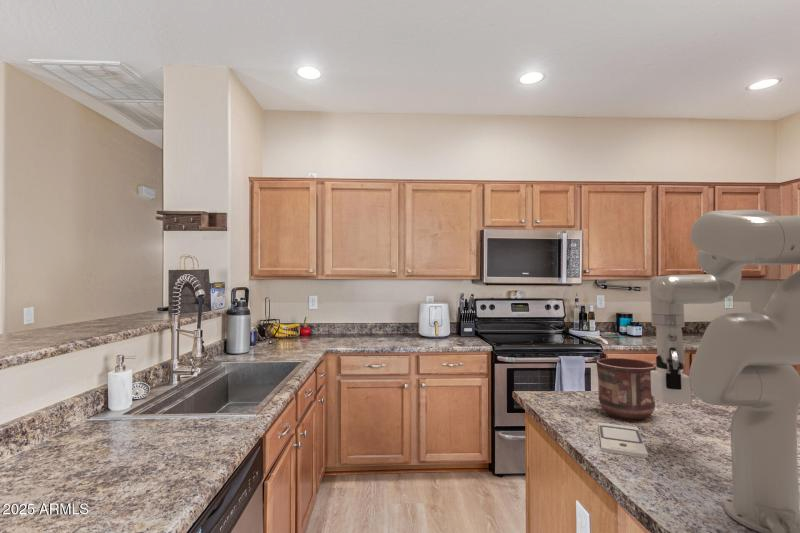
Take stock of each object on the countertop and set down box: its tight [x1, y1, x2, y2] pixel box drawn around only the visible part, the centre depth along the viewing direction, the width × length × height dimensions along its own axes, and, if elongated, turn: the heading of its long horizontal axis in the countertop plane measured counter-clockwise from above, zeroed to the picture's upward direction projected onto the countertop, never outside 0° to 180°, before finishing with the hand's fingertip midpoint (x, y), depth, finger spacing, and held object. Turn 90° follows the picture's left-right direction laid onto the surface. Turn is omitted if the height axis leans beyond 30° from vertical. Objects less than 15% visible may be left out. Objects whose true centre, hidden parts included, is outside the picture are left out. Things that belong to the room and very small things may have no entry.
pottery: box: [595, 357, 657, 422], centre depth 134 cm, size 18×18×18 cm
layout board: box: [597, 422, 649, 459], centre depth 113 cm, size 20×11×1 cm, turn 156°
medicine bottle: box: [650, 355, 693, 405], centre depth 107 cm, size 7×7×12 cm
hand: (670, 384), depth 107 cm, fingers closed on medicine bottle, 8 cm apart
